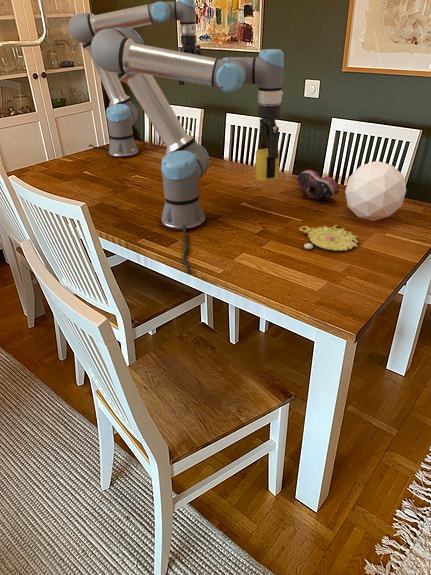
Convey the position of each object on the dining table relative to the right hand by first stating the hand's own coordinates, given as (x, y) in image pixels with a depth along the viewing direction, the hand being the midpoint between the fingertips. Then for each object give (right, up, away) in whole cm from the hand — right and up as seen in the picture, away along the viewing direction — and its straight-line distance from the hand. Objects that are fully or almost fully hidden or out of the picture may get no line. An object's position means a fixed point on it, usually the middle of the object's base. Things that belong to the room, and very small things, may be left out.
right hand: (266, 173), depth 154 cm
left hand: (-30, +63, +69) cm, 99 cm away
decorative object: (+18, -24, -13) cm, 33 cm away
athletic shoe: (+20, -4, +20) cm, 28 cm away
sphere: (+36, -15, +1) cm, 40 cm away
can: (0, -1, +1) cm, 1 cm away
